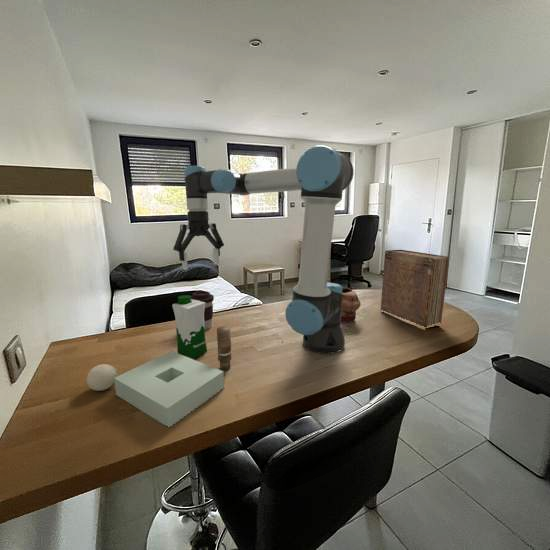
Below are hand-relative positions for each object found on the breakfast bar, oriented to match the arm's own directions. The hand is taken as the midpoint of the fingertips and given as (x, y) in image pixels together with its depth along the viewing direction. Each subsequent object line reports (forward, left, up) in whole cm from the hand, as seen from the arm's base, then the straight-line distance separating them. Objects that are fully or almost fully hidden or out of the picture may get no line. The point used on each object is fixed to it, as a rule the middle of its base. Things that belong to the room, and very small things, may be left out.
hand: (201, 267), depth 111 cm
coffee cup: (+4, -3, -27) cm, 27 cm away
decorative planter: (-41, -44, -27) cm, 66 cm away
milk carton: (-10, +15, -27) cm, 33 cm away
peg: (-26, +16, -27) cm, 41 cm away
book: (-67, -60, -27) cm, 94 cm away
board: (-22, +33, -27) cm, 48 cm away
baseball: (-5, +42, -27) cm, 50 cm away
